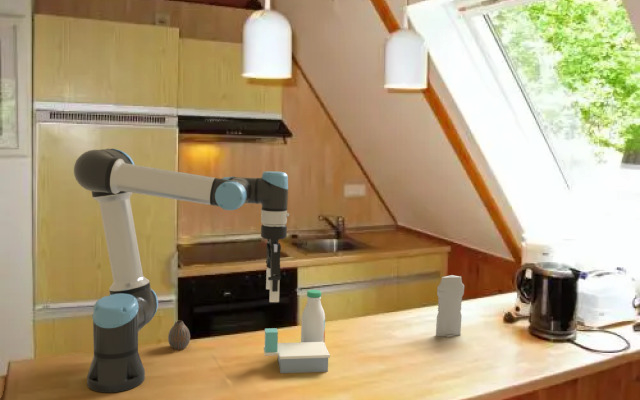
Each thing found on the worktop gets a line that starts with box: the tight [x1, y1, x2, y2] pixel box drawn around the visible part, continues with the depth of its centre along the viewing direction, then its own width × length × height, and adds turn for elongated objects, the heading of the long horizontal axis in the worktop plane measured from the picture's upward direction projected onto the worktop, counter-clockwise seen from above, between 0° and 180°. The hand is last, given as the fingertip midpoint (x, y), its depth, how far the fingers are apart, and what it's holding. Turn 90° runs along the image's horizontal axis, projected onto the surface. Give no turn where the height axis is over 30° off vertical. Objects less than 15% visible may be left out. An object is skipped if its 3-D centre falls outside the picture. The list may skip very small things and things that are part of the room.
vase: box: [167, 320, 191, 351], centre depth 184 cm, size 7×7×9 cm
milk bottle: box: [300, 289, 326, 344], centre depth 184 cm, size 8×8×20 cm
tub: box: [277, 355, 329, 374], centre depth 171 cm, size 14×10×5 cm
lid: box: [263, 327, 331, 359], centre depth 170 cm, size 19×11×7 cm, turn 99°
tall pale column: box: [435, 274, 465, 338], centre depth 203 cm, size 11×4×22 cm, turn 105°
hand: (272, 295), depth 168 cm, fingers open, 13 cm apart
